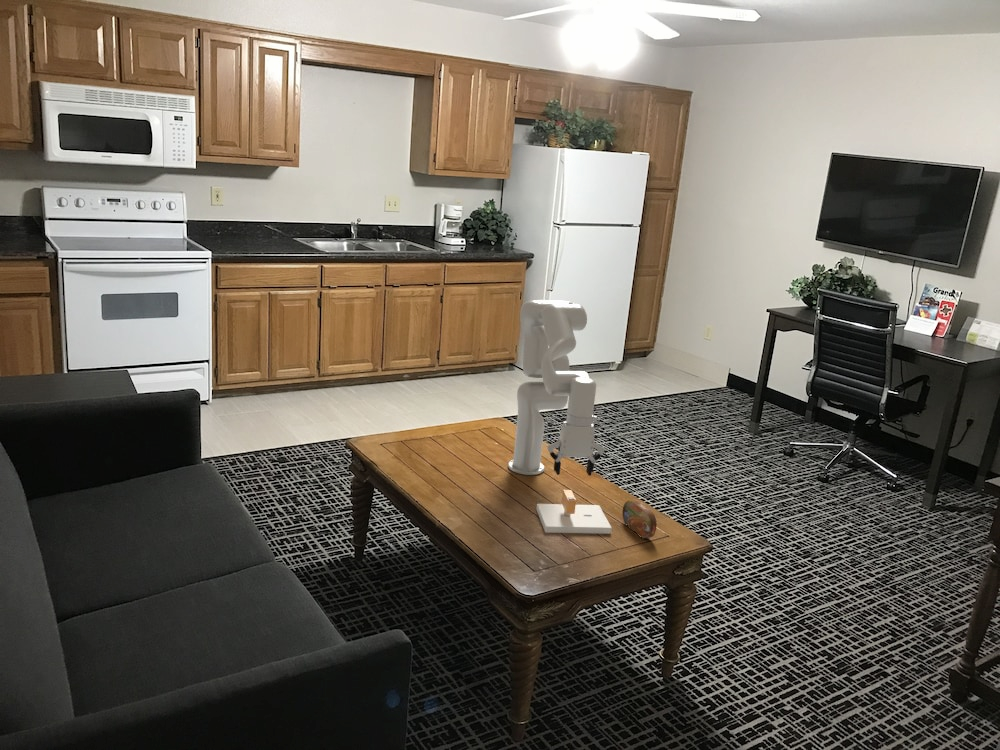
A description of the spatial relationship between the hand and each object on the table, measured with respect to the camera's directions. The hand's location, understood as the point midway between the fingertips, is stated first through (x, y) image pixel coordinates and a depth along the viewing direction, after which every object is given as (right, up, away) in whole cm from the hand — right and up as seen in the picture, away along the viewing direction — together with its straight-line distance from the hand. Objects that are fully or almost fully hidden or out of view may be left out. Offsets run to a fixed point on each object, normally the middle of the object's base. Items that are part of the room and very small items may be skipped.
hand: (573, 473), depth 240 cm
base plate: (0, -15, +5) cm, 16 cm away
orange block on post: (-1, -11, +4) cm, 12 cm away
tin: (+20, -18, +3) cm, 27 cm away
